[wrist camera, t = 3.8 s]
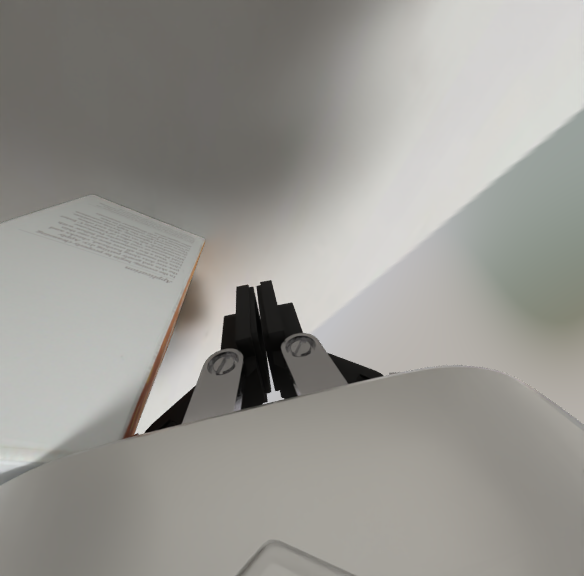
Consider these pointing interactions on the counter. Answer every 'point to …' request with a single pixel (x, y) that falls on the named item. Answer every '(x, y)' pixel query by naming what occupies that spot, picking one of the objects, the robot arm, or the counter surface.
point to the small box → (83, 324)
